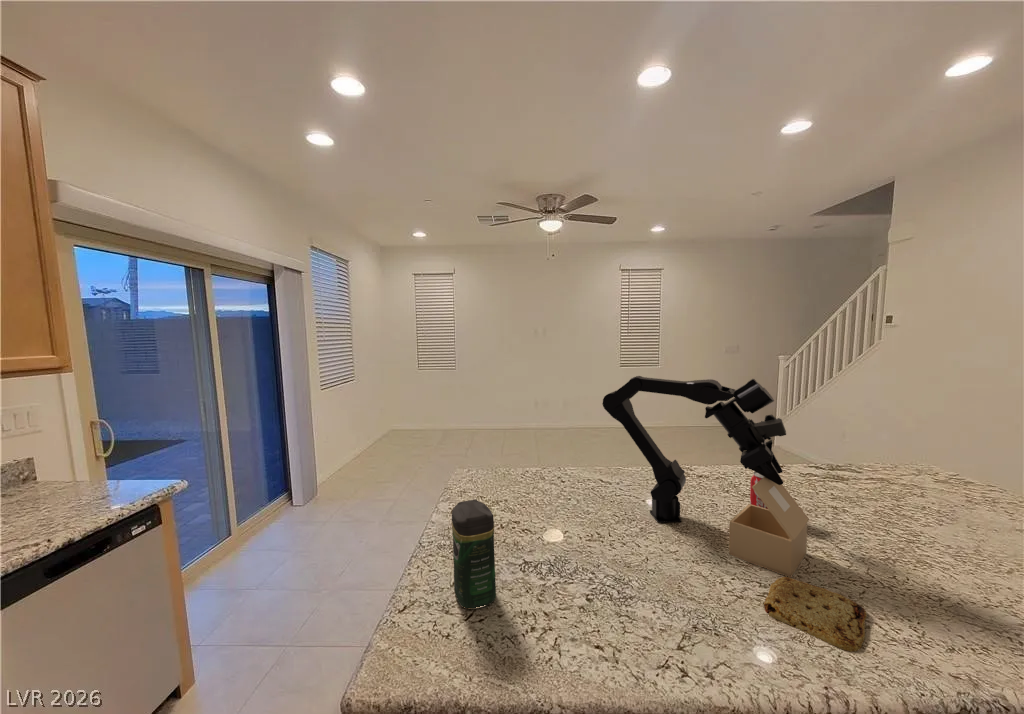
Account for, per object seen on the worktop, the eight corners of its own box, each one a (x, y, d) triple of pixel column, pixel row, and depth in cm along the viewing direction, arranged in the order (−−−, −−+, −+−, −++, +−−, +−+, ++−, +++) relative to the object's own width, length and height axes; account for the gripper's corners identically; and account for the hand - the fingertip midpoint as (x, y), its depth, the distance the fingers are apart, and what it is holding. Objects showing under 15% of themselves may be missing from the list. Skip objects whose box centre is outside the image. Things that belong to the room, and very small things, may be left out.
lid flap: (751, 486, 87) (754, 485, 86) (769, 472, 95) (772, 471, 95) (791, 540, 82) (794, 539, 81) (807, 520, 90) (810, 519, 90)
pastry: (740, 585, 81) (741, 571, 81) (827, 584, 80) (827, 570, 80) (799, 654, 64) (799, 636, 64) (909, 654, 63) (910, 636, 63)
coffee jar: (501, 604, 77) (498, 512, 75) (462, 616, 74) (458, 520, 73) (486, 576, 86) (483, 493, 84) (450, 585, 83) (447, 500, 82)
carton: (729, 554, 91) (729, 521, 91) (748, 534, 100) (749, 503, 99) (790, 577, 82) (791, 541, 82) (806, 553, 91) (807, 520, 90)
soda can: (785, 524, 104) (786, 480, 103) (756, 522, 106) (756, 478, 105) (773, 511, 111) (774, 470, 110) (745, 510, 112) (746, 469, 112)
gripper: (765, 413, 87) (819, 475, 82) (766, 399, 102) (811, 451, 98) (720, 438, 92) (768, 498, 88) (728, 421, 108) (769, 471, 103)
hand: (781, 478), depth 94 cm, fingers open, 8 cm apart
